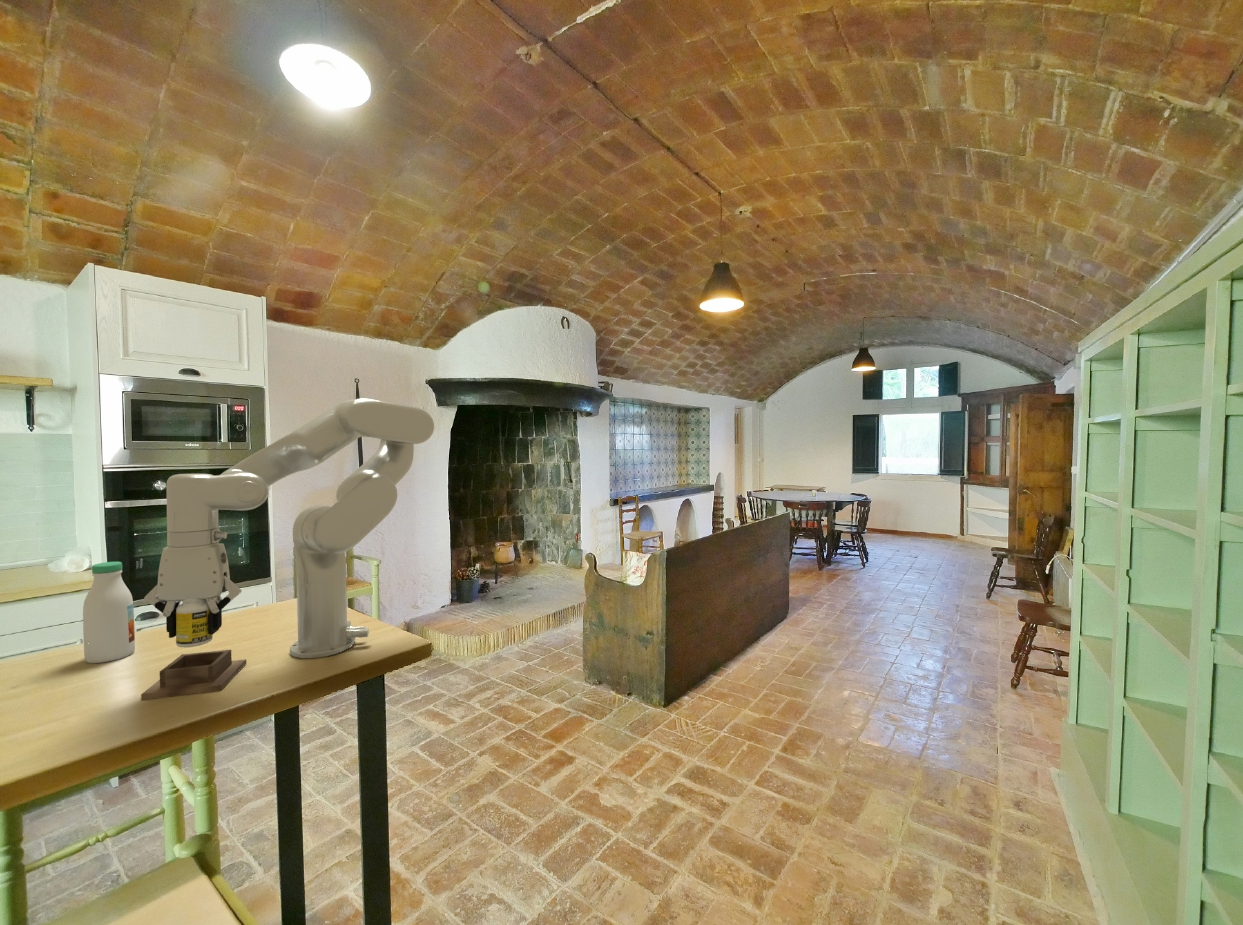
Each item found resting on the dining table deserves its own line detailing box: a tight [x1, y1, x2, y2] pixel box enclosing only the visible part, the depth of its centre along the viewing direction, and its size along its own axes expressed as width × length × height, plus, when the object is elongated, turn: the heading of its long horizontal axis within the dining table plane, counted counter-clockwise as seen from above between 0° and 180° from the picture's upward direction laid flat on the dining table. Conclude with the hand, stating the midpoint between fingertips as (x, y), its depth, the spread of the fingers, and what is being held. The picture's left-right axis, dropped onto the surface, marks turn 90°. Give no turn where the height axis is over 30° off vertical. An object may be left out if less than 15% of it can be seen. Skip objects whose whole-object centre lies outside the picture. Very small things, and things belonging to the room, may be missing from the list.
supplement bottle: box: [175, 599, 214, 648], centre depth 100 cm, size 5×5×10 cm
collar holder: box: [140, 649, 247, 701], centre depth 100 cm, size 12×12×4 cm
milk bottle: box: [82, 561, 136, 664], centre depth 111 cm, size 8×8×20 cm
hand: (194, 632), depth 100 cm, fingers closed on supplement bottle, 5 cm apart
